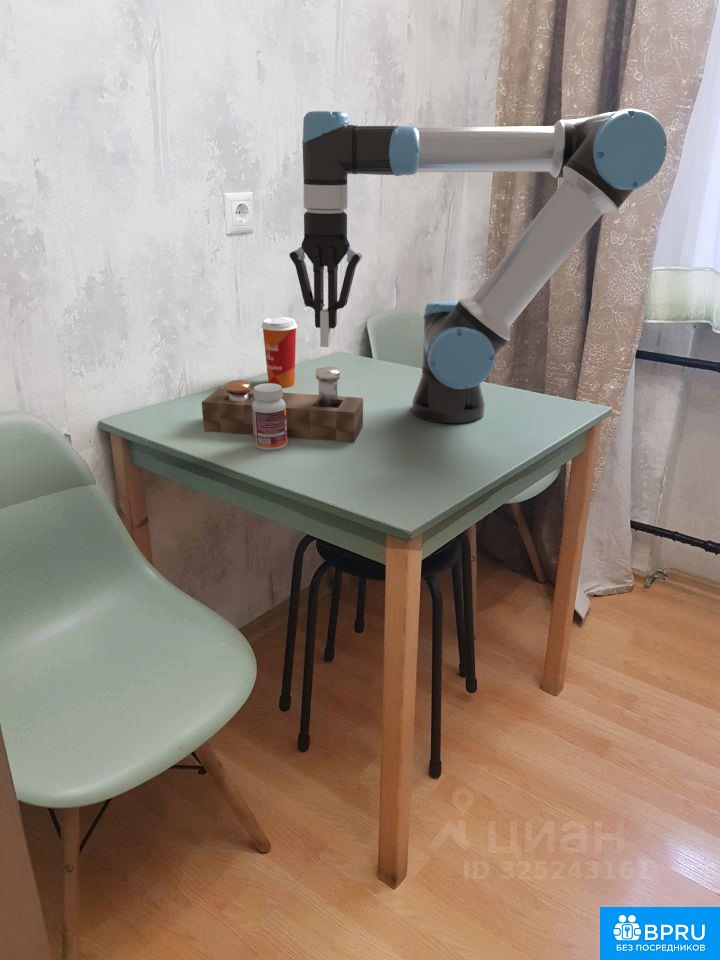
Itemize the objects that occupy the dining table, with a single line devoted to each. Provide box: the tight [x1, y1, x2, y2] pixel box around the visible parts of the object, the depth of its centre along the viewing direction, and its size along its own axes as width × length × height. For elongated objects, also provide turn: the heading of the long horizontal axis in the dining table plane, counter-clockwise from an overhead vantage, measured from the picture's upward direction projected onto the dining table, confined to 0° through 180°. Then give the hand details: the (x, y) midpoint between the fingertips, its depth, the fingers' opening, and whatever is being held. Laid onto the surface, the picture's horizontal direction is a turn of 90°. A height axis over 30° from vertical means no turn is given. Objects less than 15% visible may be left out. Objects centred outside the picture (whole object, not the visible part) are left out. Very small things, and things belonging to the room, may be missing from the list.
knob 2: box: [315, 366, 341, 408], centre depth 141 cm, size 5×5×7 cm
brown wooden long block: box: [201, 387, 364, 444], centre depth 145 cm, size 30×9×6 cm, turn 79°
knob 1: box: [225, 379, 252, 402], centre depth 145 cm, size 5×5×7 cm
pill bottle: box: [252, 382, 288, 451], centre depth 135 cm, size 6×6×11 cm
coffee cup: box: [260, 316, 298, 389], centre depth 170 cm, size 8×8×15 cm
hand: (325, 345), depth 137 cm, fingers closed
